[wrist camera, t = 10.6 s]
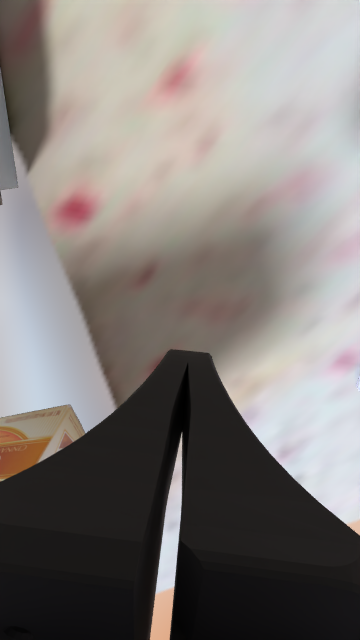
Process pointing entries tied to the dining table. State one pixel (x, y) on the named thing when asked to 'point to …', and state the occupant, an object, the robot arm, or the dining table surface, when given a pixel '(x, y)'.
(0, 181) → the grey square frame
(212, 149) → the dining table surface
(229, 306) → the dining table surface
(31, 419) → the coffeecake box
